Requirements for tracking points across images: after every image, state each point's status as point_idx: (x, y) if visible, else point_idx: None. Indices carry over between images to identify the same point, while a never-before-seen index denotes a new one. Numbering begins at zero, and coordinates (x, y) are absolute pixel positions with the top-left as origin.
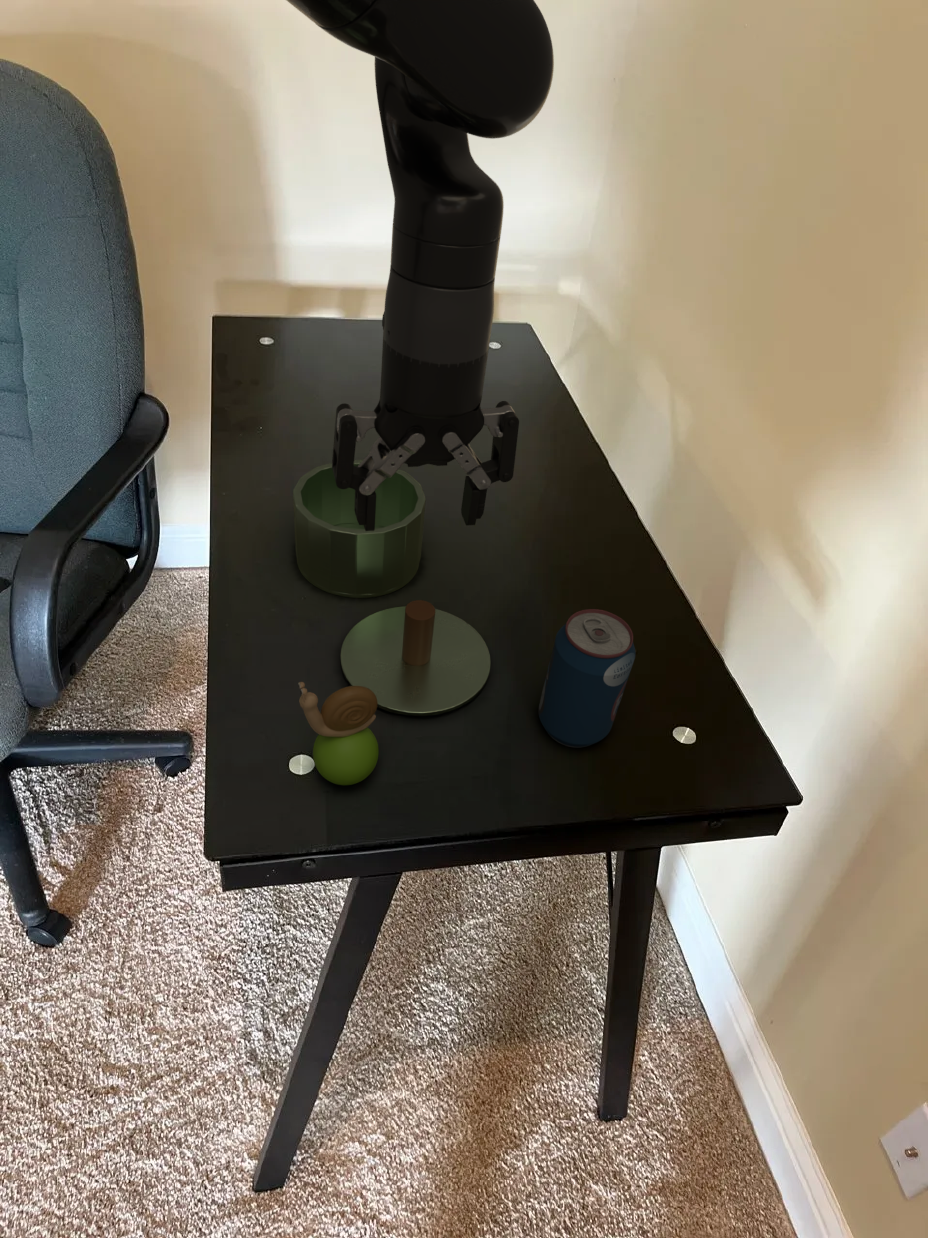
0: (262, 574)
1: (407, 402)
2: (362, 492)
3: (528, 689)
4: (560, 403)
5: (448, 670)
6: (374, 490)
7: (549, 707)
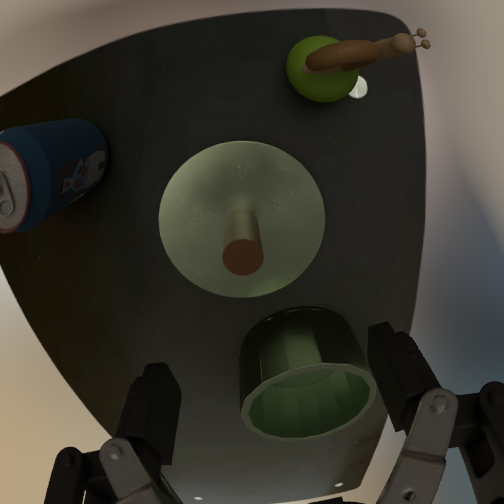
0: (382, 322)
1: None
2: (443, 392)
3: (121, 196)
4: None
5: (204, 207)
6: (419, 406)
7: (88, 137)
